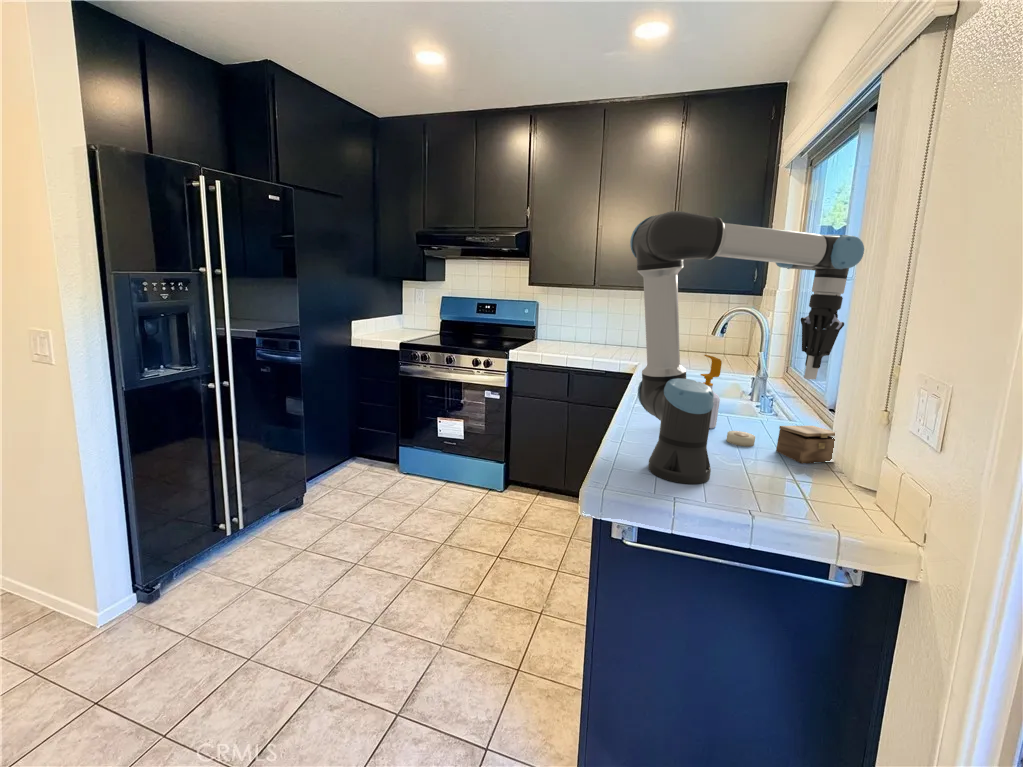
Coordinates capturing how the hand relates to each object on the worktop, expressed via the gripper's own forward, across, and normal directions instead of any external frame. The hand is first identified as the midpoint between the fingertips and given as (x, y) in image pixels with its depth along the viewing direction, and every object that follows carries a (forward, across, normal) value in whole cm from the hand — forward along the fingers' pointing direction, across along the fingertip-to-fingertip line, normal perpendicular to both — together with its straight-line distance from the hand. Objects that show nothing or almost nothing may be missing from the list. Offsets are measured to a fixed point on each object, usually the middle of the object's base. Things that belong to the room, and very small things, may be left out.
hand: (809, 378), depth 141 cm
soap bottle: (+24, +31, +10) cm, 40 cm away
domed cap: (+24, +13, +8) cm, 28 cm away
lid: (+16, -1, -3) cm, 16 cm away
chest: (+23, 0, -3) cm, 23 cm away
